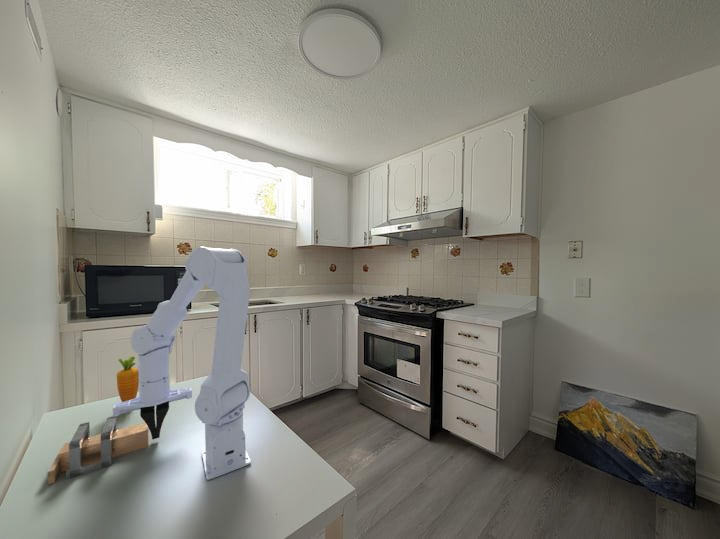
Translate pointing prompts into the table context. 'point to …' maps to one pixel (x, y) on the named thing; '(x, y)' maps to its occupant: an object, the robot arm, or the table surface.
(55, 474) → the bar
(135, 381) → the carrot
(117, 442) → the pine wood beam
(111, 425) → the gray metal beam bracket
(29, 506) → the table surface
